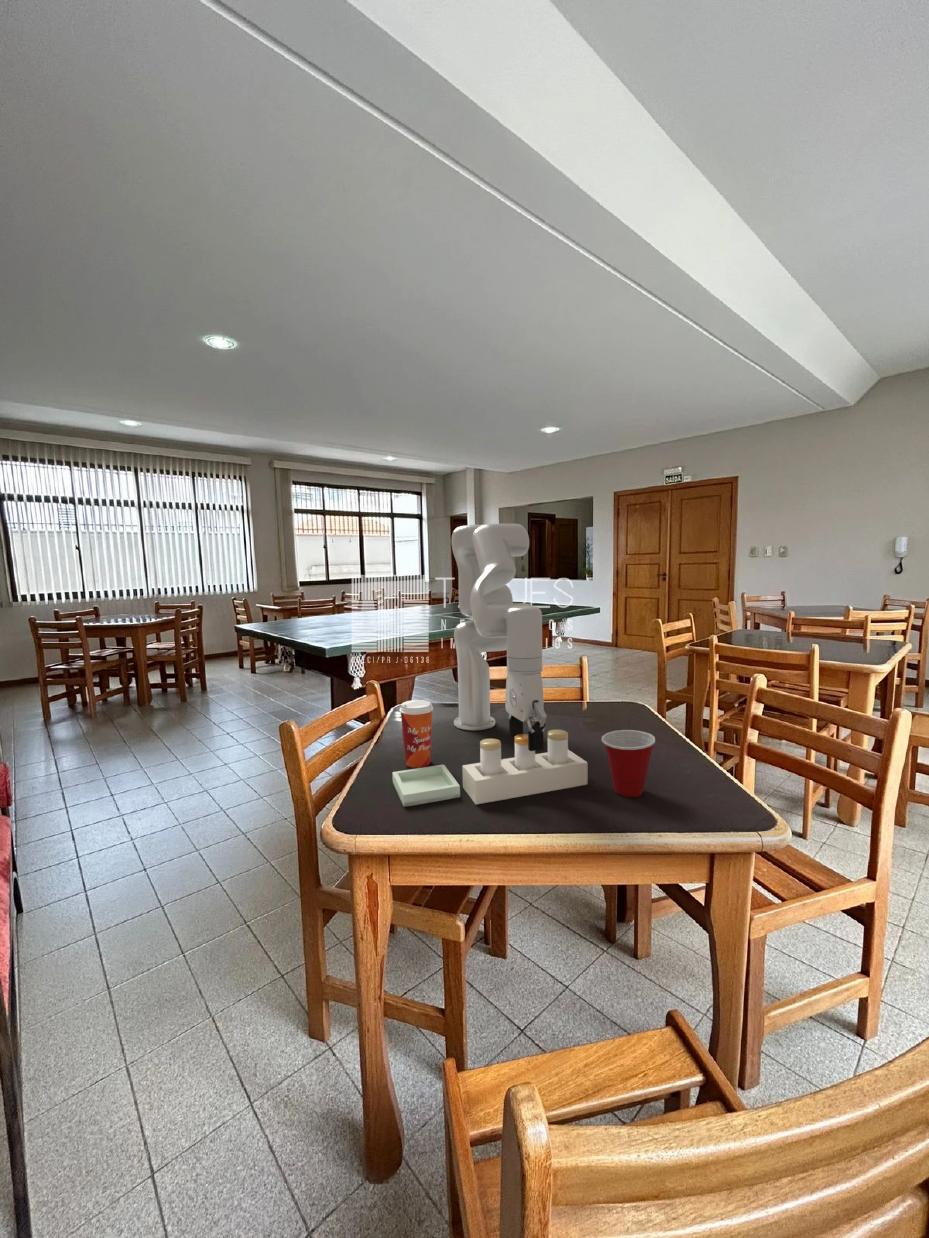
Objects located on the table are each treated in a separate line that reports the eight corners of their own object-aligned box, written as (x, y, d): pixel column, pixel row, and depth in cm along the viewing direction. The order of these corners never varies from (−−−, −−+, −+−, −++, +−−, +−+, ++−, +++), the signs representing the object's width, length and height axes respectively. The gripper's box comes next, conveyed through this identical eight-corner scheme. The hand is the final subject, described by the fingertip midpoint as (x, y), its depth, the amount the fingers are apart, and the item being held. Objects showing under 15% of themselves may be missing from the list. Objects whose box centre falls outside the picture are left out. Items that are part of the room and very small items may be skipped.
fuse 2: (544, 777, 114) (544, 730, 113) (561, 774, 115) (561, 728, 114) (553, 785, 110) (553, 737, 108) (571, 782, 111) (571, 734, 110)
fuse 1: (478, 789, 109) (477, 740, 108) (496, 785, 110) (496, 737, 109) (485, 797, 105) (484, 747, 103) (504, 794, 106) (504, 744, 105)
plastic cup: (597, 779, 113) (598, 727, 111) (647, 781, 111) (648, 728, 110) (604, 802, 102) (605, 745, 101) (660, 804, 100) (661, 746, 99)
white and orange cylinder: (511, 783, 111) (511, 735, 110) (529, 780, 113) (529, 732, 111) (520, 791, 107) (519, 742, 106) (538, 788, 109) (538, 739, 107)
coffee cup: (410, 772, 118) (408, 710, 116) (395, 761, 125) (393, 702, 123) (441, 764, 122) (439, 704, 121) (425, 754, 129) (423, 697, 128)
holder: (462, 787, 110) (462, 765, 109) (567, 769, 118) (567, 749, 117) (475, 804, 102) (475, 780, 101) (587, 784, 110) (587, 762, 110)
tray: (392, 782, 113) (392, 772, 112) (444, 774, 117) (443, 764, 116) (403, 806, 101) (403, 795, 101) (460, 797, 105) (459, 785, 105)
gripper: (493, 659, 114) (494, 733, 115) (526, 673, 97) (527, 758, 99) (523, 656, 116) (524, 729, 118) (560, 670, 100) (561, 753, 101)
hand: (525, 742), depth 108 cm, fingers open, 9 cm apart
